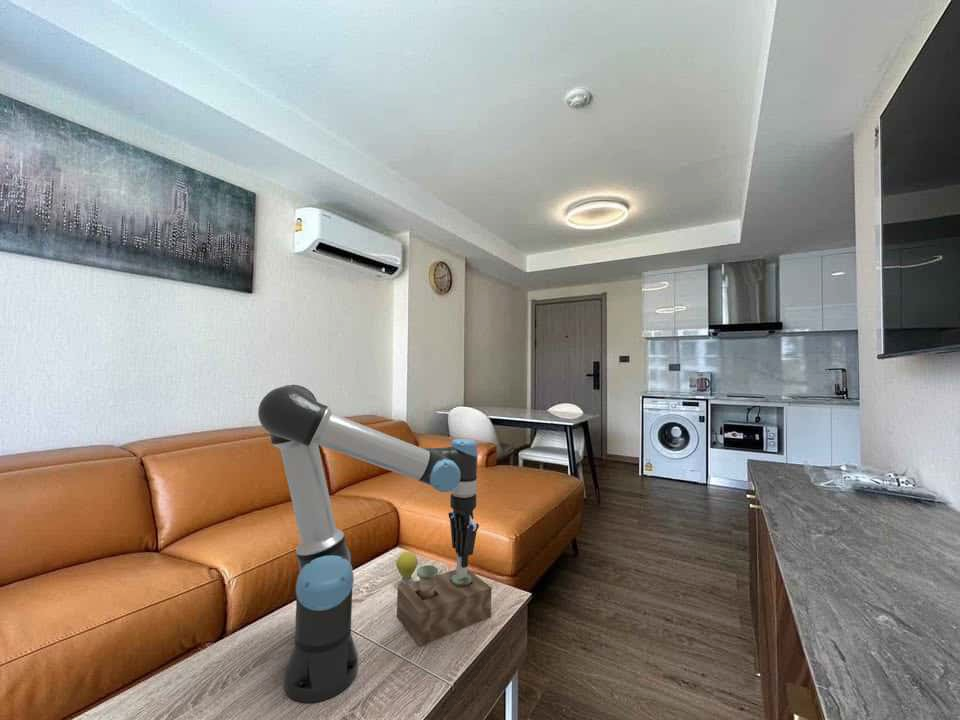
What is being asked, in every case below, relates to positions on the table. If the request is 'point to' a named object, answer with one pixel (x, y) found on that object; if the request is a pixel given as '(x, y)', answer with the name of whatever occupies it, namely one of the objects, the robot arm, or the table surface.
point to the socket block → (442, 607)
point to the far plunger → (461, 581)
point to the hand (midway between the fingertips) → (461, 576)
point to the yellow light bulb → (406, 566)
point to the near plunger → (427, 581)
